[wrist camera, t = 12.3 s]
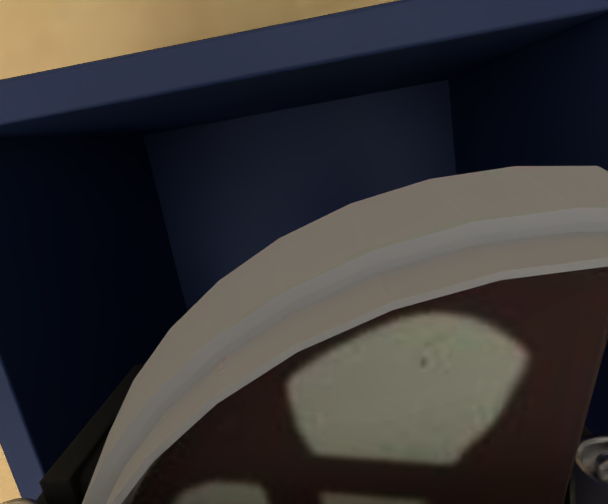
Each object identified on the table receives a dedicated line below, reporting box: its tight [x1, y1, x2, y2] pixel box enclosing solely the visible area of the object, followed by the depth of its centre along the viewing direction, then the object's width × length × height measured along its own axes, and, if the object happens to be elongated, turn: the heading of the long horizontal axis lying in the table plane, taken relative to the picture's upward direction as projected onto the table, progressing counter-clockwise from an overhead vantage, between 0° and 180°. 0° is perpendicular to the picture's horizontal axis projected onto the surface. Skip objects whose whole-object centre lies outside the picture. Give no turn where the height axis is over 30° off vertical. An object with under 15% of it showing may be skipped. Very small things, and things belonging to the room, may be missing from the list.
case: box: [0, 0, 608, 501], centre depth 16 cm, size 16×15×12 cm
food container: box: [82, 166, 608, 504], centre depth 10 cm, size 12×6×10 cm, turn 175°
